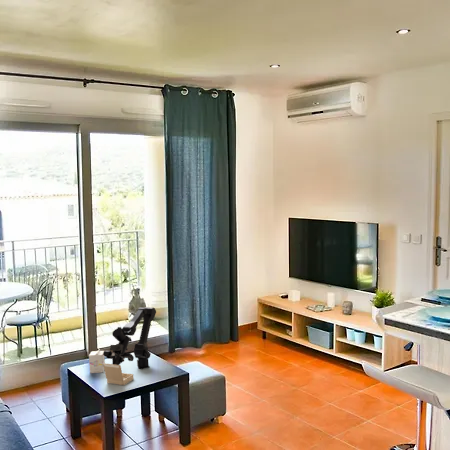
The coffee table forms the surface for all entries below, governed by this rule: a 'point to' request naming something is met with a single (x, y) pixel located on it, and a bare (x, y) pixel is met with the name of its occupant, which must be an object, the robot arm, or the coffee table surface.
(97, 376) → the coffee table surface
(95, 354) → the ink box
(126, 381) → the mailer
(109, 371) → the lid
